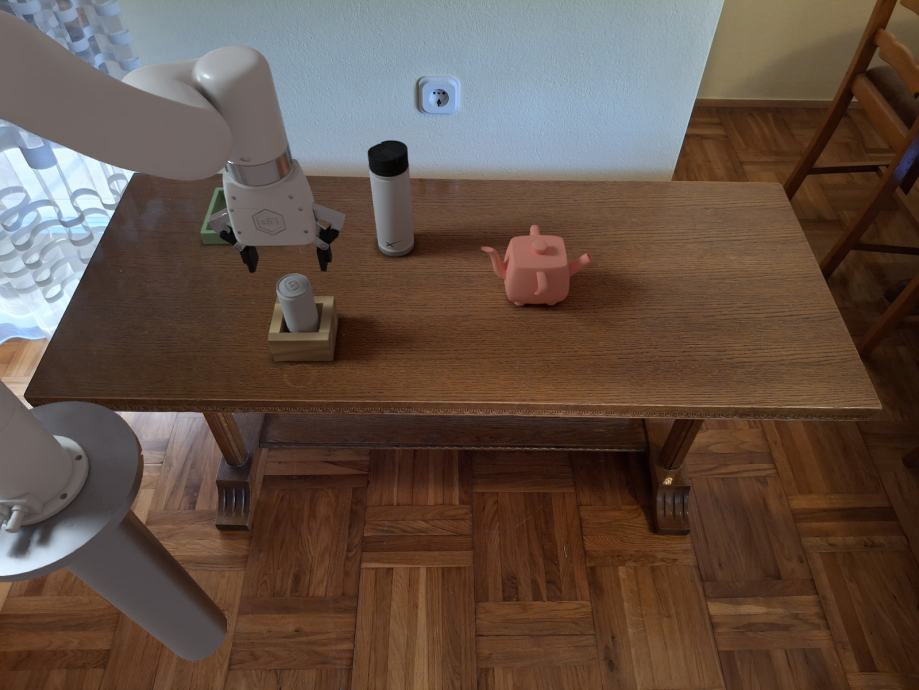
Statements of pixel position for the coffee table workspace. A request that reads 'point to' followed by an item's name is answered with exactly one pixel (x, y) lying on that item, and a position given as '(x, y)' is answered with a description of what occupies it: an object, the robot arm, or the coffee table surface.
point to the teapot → (536, 268)
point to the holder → (305, 334)
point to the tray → (215, 206)
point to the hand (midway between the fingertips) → (289, 265)
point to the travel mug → (391, 197)
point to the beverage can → (298, 304)
